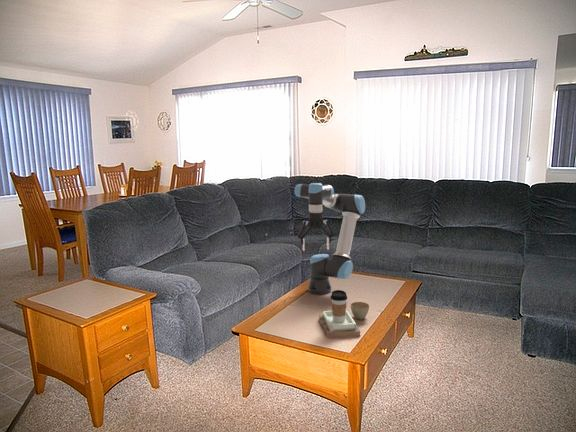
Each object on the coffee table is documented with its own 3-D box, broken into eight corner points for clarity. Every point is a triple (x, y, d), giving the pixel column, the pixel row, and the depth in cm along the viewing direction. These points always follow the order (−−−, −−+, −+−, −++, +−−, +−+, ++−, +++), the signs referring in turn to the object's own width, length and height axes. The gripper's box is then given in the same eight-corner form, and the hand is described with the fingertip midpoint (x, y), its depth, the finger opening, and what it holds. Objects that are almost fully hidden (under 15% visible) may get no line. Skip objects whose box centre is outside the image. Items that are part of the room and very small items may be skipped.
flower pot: (355, 322, 222) (355, 309, 221) (347, 315, 231) (347, 302, 230) (372, 320, 224) (372, 307, 223) (364, 313, 234) (364, 300, 233)
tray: (322, 316, 224) (322, 311, 223) (346, 314, 226) (346, 309, 225) (330, 331, 206) (330, 325, 206) (356, 329, 208) (356, 323, 207)
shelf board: (319, 319, 226) (319, 315, 226) (348, 317, 228) (348, 313, 228) (328, 338, 205) (328, 333, 204) (360, 336, 207) (360, 331, 206)
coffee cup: (345, 317, 220) (345, 289, 218) (348, 324, 212) (348, 295, 209) (329, 317, 220) (329, 290, 217) (331, 324, 212) (331, 296, 209)
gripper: (293, 213, 225) (294, 252, 229) (339, 212, 228) (339, 250, 232) (292, 211, 232) (292, 249, 236) (336, 209, 235) (336, 247, 239)
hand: (315, 249), depth 234 cm, fingers open, 13 cm apart
